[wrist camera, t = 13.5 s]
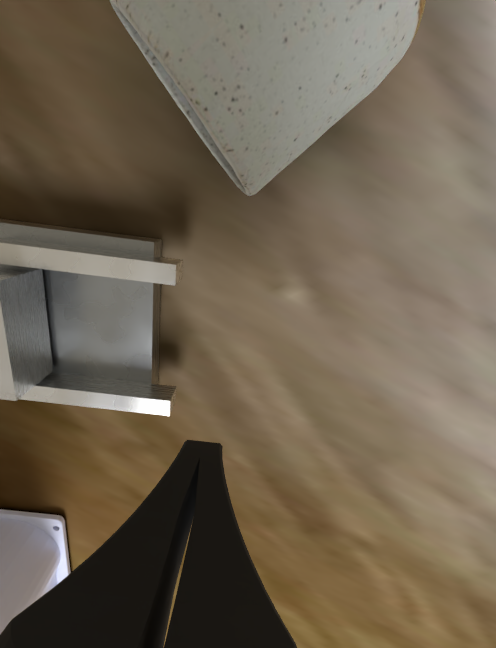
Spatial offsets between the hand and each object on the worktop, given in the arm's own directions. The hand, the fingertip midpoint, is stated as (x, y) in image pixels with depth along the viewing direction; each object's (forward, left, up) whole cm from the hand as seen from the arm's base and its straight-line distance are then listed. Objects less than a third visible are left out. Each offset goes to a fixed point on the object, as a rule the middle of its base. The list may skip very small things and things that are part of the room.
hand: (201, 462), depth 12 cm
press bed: (+2, +13, -8) cm, 16 cm away
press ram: (+2, +12, -7) cm, 13 cm away
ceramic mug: (+16, +1, -9) cm, 18 cm away
